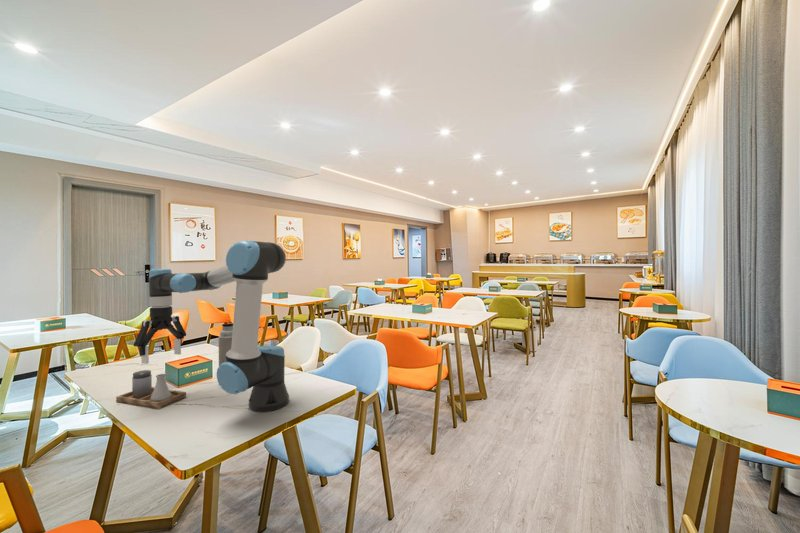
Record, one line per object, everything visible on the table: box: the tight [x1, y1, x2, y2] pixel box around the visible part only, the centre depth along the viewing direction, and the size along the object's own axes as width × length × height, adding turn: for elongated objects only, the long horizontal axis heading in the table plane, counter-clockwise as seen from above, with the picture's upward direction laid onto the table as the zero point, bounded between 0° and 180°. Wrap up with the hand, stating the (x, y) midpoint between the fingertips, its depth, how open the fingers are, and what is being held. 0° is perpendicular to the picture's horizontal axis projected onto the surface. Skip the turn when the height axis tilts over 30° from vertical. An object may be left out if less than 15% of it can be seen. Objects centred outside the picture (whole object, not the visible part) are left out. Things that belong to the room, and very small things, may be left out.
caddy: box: [115, 386, 187, 410], centre depth 139 cm, size 23×12×2 cm, turn 73°
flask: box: [150, 373, 172, 402], centre depth 137 cm, size 7×7×10 cm
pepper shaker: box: [131, 369, 153, 399], centre depth 140 cm, size 6×6×10 cm
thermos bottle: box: [218, 322, 233, 367], centre depth 158 cm, size 8×8×28 cm
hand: (162, 358), depth 137 cm, fingers open, 13 cm apart
